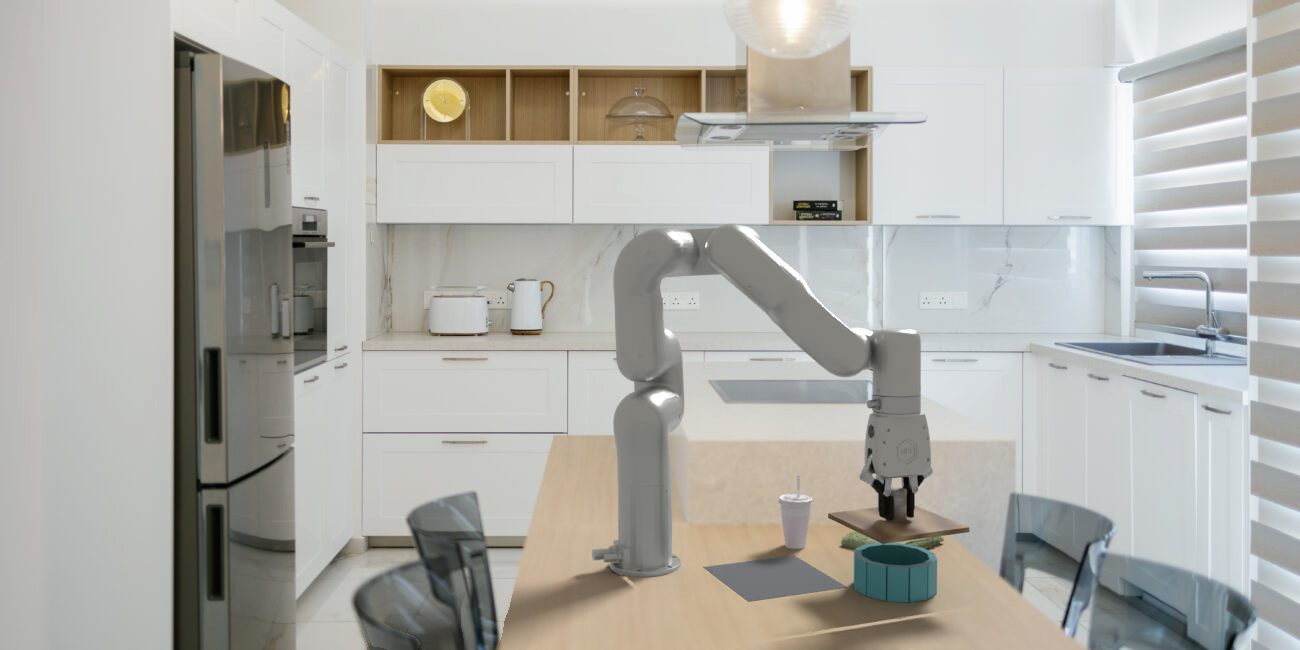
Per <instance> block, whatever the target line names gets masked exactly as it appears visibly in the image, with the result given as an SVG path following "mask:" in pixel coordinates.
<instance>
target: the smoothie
mask: <svg viewBox="0 0 1300 650" xmlns="http://www.w3.org/2000/svg"><path fill="white" fill-rule="evenodd" d="M813 501H814V500H813V497H812V496H810V495H807V494H802V493H801V474H797V475H796V493H787V494H782V495H780V496H778V504H779V505H780V514H781V521H782V530H783V538H784V546H785V548H788V549H791V550H802V549H805V548H806V546H807V538H808V530H809V522H810V517H811V516H810V515H811V507H812V505H813V503H814V502H813Z"/></svg>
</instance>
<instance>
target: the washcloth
mask: <svg viewBox="0 0 1300 650" xmlns="http://www.w3.org/2000/svg"><path fill="white" fill-rule="evenodd" d="M841 538H842V539H841V540H840V543H841V545H842V547H846V548H849V549H850V548H851V549H853V550H854V549H856V548H858V547H860V546H862V545H866V544H874V543H880V542H877V541H875V540H873V539H871V538H869V537H867V536H865V535H863V534H861V533H859V532H857V531H852V532H849V533H846V535H844V536H843V537H841ZM944 541H945V539H944V537H943V536H938V537H930V538H923V539H916V540H908V541H901V542H894V543H901V544H907V545H912V546H917V547H921V548H924V549H926V550H927V549H929V548H931V547H932V546H937V545H939V544H940V542H941V543H943V542H944Z"/></svg>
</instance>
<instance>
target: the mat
mask: <svg viewBox="0 0 1300 650" xmlns="http://www.w3.org/2000/svg"><path fill="white" fill-rule="evenodd" d="M703 568H704V570H706V571H708V572H709V573H710V574H711V575H712V576H714V577H716V578H717V579H718V580H719V581H721V582H722V583H723V584H725V585H726V586H727V587H728V588H729V589H731V590H732V591H734V592H735V593H736V594H738V595H739V596H741V598H743V599H744V600H745V601H747V602H749V603H750V602H755V601H763V600H769V599H770V600H772V599H779V598H785V597H791V596H797V595H803V594H812V593H818V592H826V591H831V590H837V589H839V590H840V589H847V588H848V586H846V585H845V584H844V583H842V582H839V581H838V580H836V579H835V578H833V577H831V576H829V575H828V574H826V573H824V572H822V571H821V570H820V569H818V568H816V567H814V566H813V565H812V564H809V563H807V562H806V561H804V560H803V559H801V558H799V557H798V556H797V555H794V554H793V555H787V556H786V555H785V556H778V557H771V558H770V557H769V558H764V559H762V558H761V559H756V560H754V559H753V560H748V561H740V562H731V563H724V564H716V565H709V566H703Z"/></svg>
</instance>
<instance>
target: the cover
mask: <svg viewBox="0 0 1300 650" xmlns="http://www.w3.org/2000/svg"><path fill="white" fill-rule="evenodd" d="M890 495H891V496H893V497H894V519H893V520H890V521H889V520H887V519H884V518H882V517H880V516H879V511H878V506H877V507H870V508H861V509H853V510H846V511H845V510H843V511H836V512H829V513H827V519H829V520H832V521H833V522H835V523H838V524H840V525H842V526H843V527H846V528H848V529H850V530H852V531H853V532H855V531H857V532H859V533H861V534H863V535H865V536H867V537H869V538H871V539H873V540H875V541H877V542H880V543H882V544H887V543H894V542H901V541H908V540H916V539H923V538H930V537H938V536H942V537H943V536H944V537H946V536H951V535H958V534H964V533H965V534H966V533H970V526H967V525H965V524H963V523H960V522H957V521H955V520H952V519H950V518H947V517H944V516H942V515H939V514H937V513H935V512H932V511H930V510H926V509H923V508H922V507H920V506H919V507H918V506H916V505H915V509H914V517H913V518H909V517H907V490H906V489H904V488H902V487H894V486H893V487H892V486H891V494H890Z"/></svg>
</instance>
